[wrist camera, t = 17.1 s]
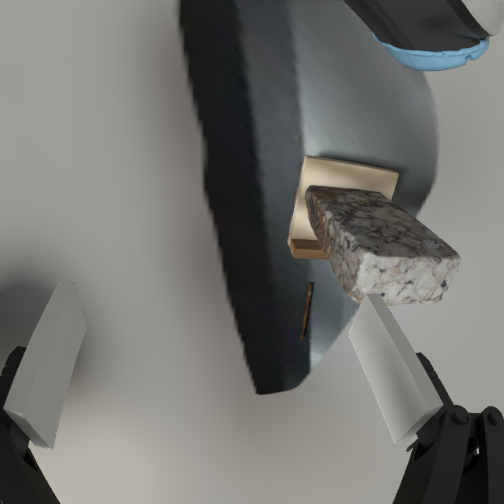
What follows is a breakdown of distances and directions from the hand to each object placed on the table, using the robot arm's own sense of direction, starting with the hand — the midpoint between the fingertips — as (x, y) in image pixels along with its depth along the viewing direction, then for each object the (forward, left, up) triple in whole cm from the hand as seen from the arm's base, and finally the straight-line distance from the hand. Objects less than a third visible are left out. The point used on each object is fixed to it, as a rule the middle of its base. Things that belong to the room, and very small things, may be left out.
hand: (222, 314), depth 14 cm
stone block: (+6, +20, -30) cm, 37 cm away
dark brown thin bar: (+31, +20, -35) cm, 51 cm away
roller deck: (+7, +20, -35) cm, 41 cm away
